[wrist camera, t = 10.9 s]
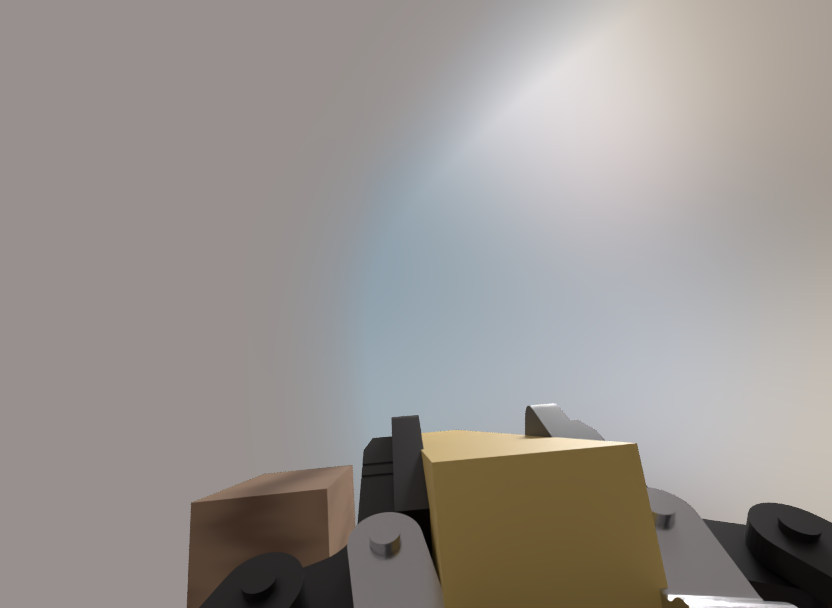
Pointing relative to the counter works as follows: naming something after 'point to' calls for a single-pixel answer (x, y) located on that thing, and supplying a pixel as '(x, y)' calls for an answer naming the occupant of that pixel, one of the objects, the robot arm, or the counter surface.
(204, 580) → the walnut pillar
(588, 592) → the ochre bar
